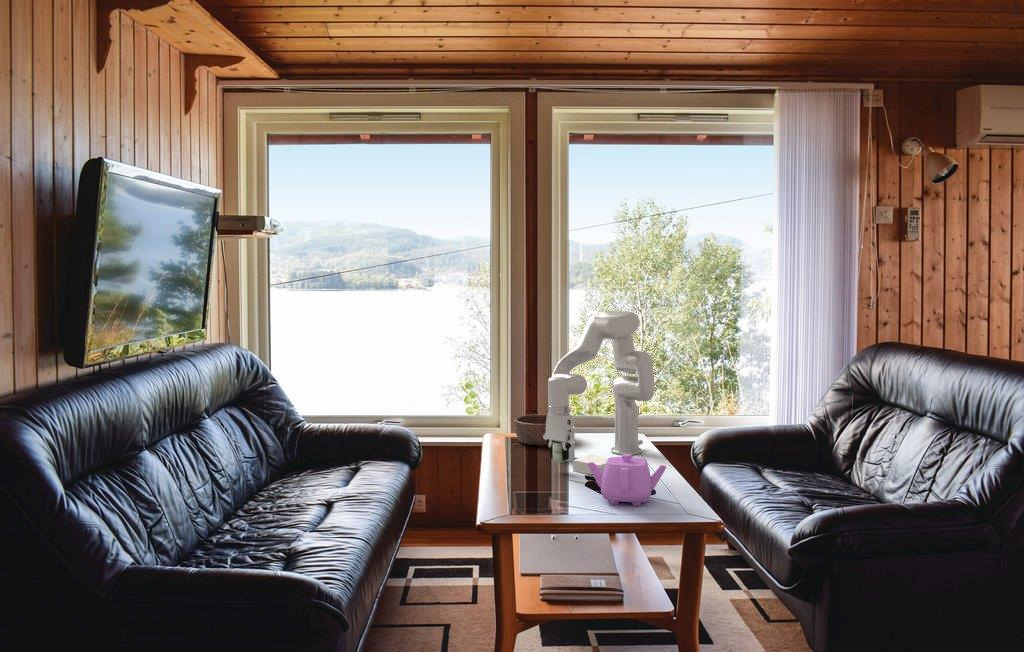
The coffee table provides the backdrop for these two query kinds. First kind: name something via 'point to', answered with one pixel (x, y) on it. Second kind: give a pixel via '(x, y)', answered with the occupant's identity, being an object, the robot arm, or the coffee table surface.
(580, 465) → the base
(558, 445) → the green domed cylinder
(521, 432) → the wooden bowl
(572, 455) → the supplement box
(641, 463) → the teapot
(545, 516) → the coffee table surface
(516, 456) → the coffee table surface
